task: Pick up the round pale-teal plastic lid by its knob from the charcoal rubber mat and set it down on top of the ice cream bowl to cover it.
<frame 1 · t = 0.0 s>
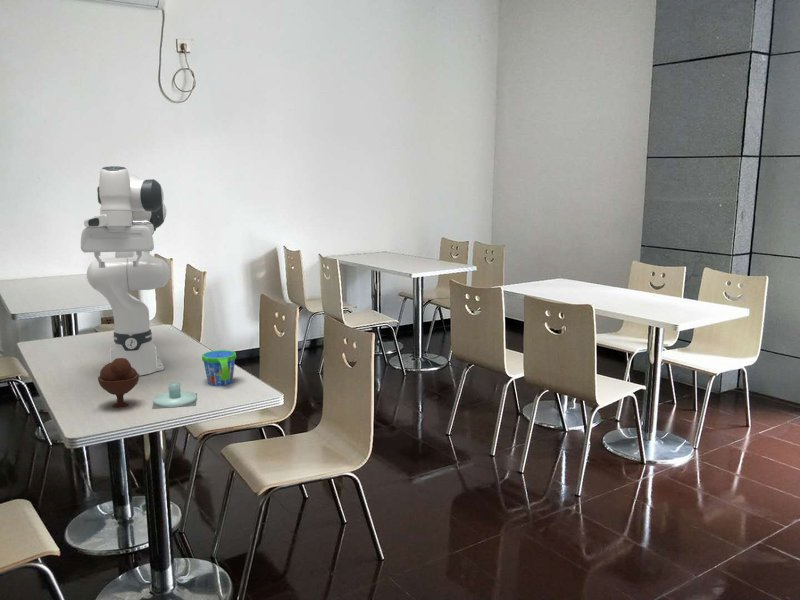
hand: (119, 267, 208), 39 cm above the table, tool pointing down, fingers open, 8 cm apart
snack cup: (220, 385, 223), on the table
mat: (175, 403, 205), on the table
lid: (175, 400, 205), point 1 cm above the table, touching mat
ice cream bowl: (120, 408, 200), on the table
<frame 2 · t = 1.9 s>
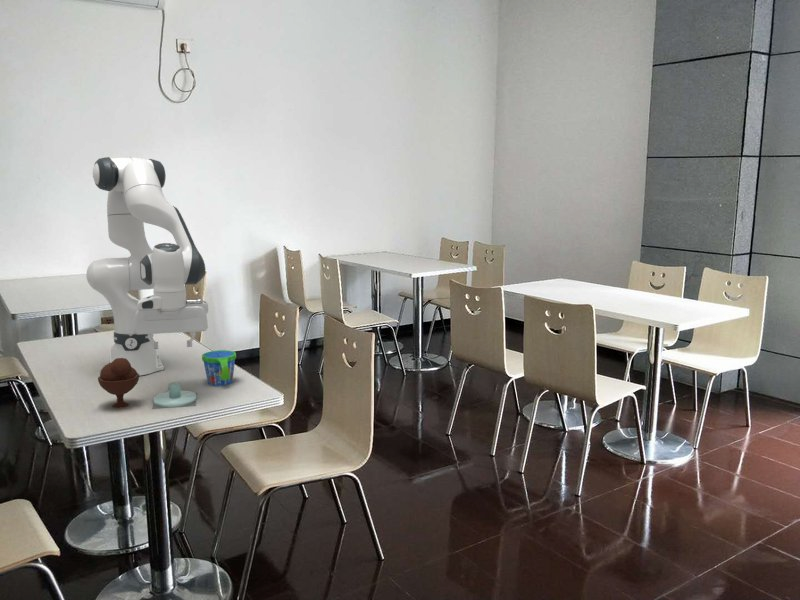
hand: (172, 347, 201), 17 cm above the table, tool pointing down, fingers open, 8 cm apart
nothing on the table moved.
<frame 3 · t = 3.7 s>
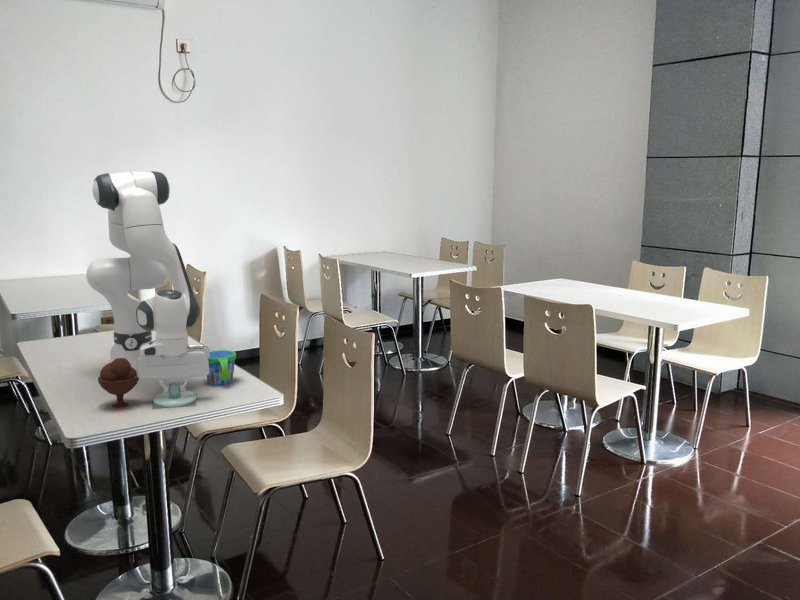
hand: (174, 391, 204), 3 cm above the table, tool pointing down, fingers closed on lid, 3 cm apart
lid: (175, 400, 205), point 1 cm above the table, touching gripper, mat
everything else where it was.
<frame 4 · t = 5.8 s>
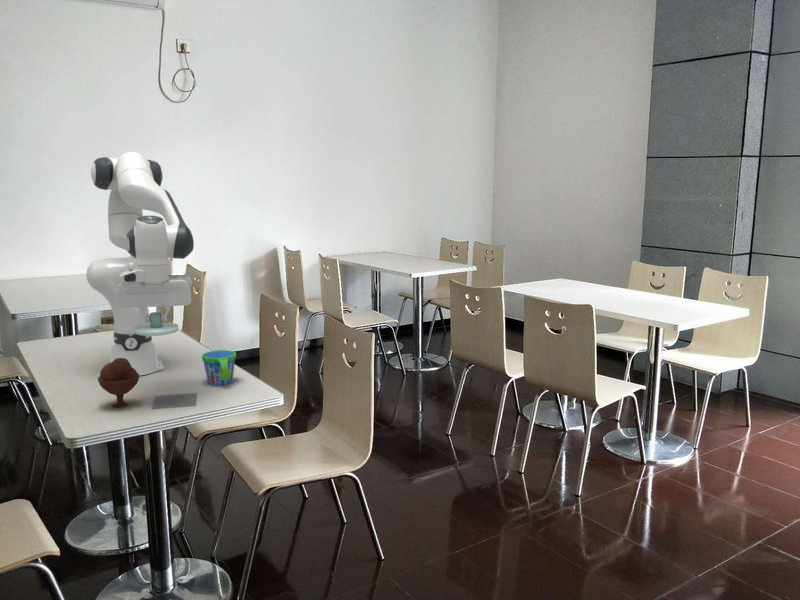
hand: (155, 321, 199), 25 cm above the table, tool pointing down, fingers closed on lid, 3 cm apart
lid: (156, 330, 199), point 22 cm above the table, touching gripper
everything else where it was.
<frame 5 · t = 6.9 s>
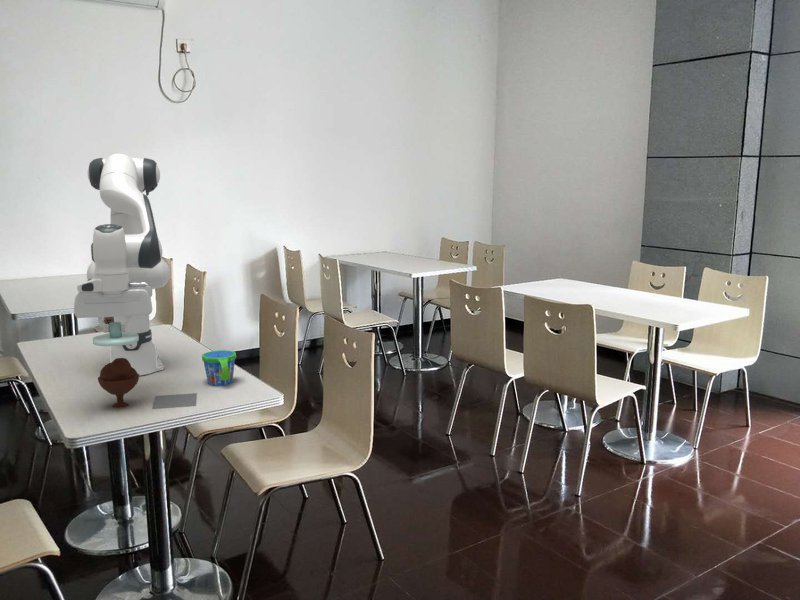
hand: (115, 331, 196), 23 cm above the table, tool pointing down, fingers closed on lid, 3 cm apart
lid: (116, 341, 196), point 20 cm above the table, touching gripper
everything else where it was.
when the fingers open (19 cm above the table, at t = 7.7 s): lid drops 1 cm, resting on ice cream bowl.
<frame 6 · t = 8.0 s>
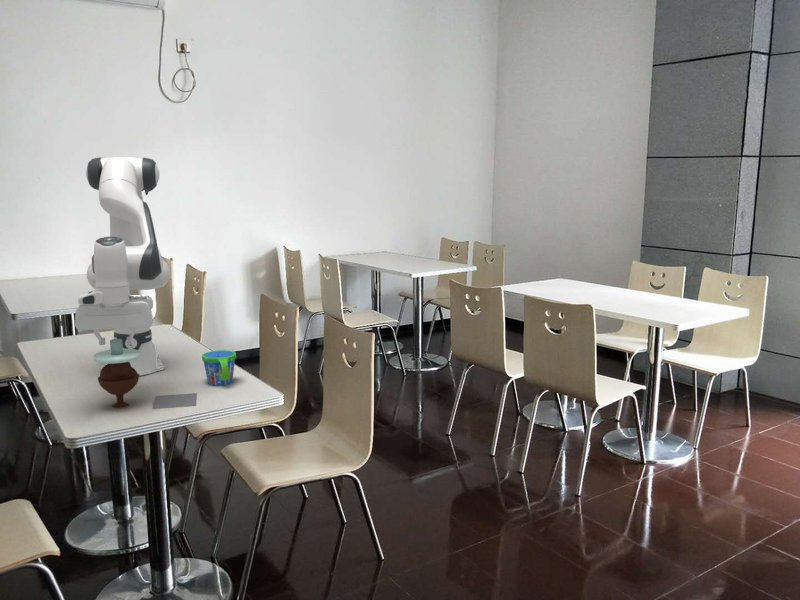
hand: (116, 343, 197), 19 cm above the table, tool pointing down, fingers open, 6 cm apart
lid: (117, 357, 197), point 15 cm above the table, touching ice cream bowl
ice cream bowl: (120, 408, 200), on the table, touching lid
everything else where it was.
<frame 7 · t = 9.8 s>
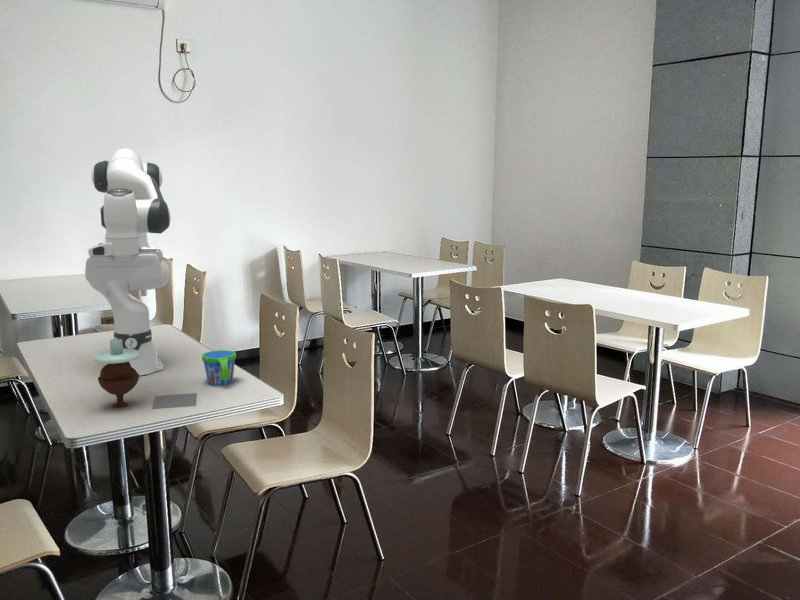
hand: (126, 296, 197), 32 cm above the table, tool pointing down, fingers open, 8 cm apart
nothing on the table moved.
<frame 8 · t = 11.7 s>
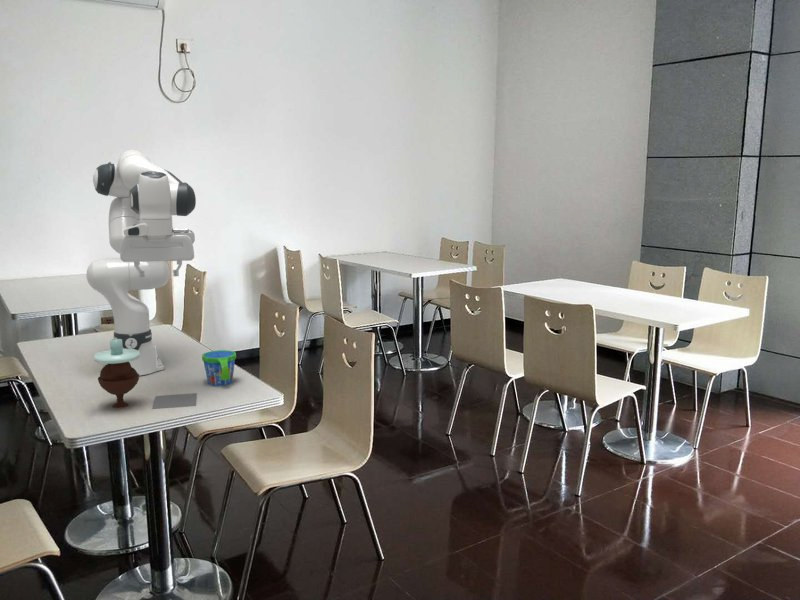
hand: (159, 276, 202), 37 cm above the table, tool pointing down, fingers open, 8 cm apart
nothing on the table moved.
at the end: lid inside the target area on the ice cream bowl (0.5 cm from its centre), point 15.2 cm above the ice cream bowl's base; lid tilted 0°; the gripper is holding nothing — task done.
